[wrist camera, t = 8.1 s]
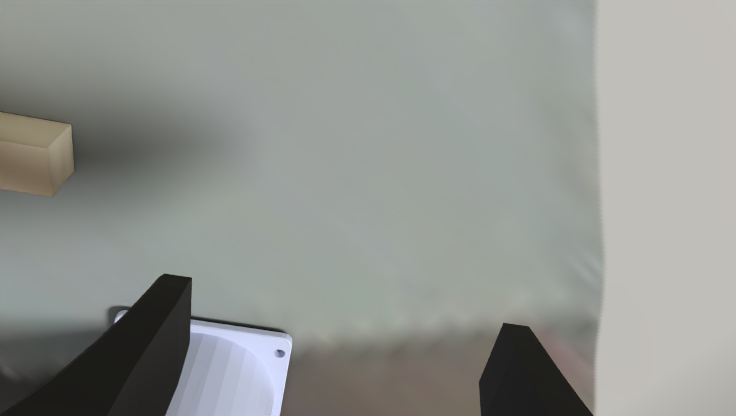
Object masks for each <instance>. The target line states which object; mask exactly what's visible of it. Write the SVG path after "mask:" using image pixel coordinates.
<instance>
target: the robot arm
mask: <svg viewBox="0 0 736 416" xmlns="http://www.w3.org/2000/svg"><path fill="white" fill-rule="evenodd" d="M191 291H192V278H190V277H183V276H177V275H170V274H163V275H162V276H160V277H159V278H158V279H157V280H156V281H155V282H154V283H153V285H152V286H151V287H150V288H149V289H148V290H147V291H146V292H145V293H144V294H143V295H142V297H141V298H140V299H139V300H138V301H137V302H136V303H135V304H134V305H133V306H132V307H131V308H130V309H129V310H122V311H120V312H119V313H118V314H117V315H116V317H115V320H114V325H112V326H111V327H110V328H109V329H108V330H107V331H106V332H105V333H104V334H103V335H102V336H101V337H100V338H99V339H98V340H97V341H95V342H94V343H93V344H92V345H91V346H90V347H88V348H87V349H86V350H85V351H84V352H83V353H81V354H80V355H79V356H78V357H77V358H76V359H74V360H73V361H72V362H71V363H70V364H69V365H67V366H66V367H65V368H64V369H62V370H61V371H60V372H59V373H57V374H56V375H55V376H53V377H52V378H51V379H49V380H48V381H47V382H46V383H44V384H43V385H41V386H40V387H39V388H37V389H36V390H35V391H33V392H32V393H31V394H29V395H28V396H26V397H25V398H23V399H22V400H20V401H19V402H17V403H16V404H14V405H13V406H11V407H10V408H8V409H7V410H5V411H4V412H3V413H1V414H0V416H280V410H281V404H282V399H283V393H284V387H285V382H286V376H287V370H288V365H289V359H290V353H291V348H292V338H291V337H290V336H289V335H288V334H285V333H280V332H274V331H267V330H260V329H253V328H246V327H239V326H232V325H226V324H219V323H212V322H205V321H198V320H191ZM277 350H283V351H277ZM479 389H480V406H481V416H593V414H592V413H591V412H590V411H589V409H588V408H587V407H586V405H585V404H584V403H583V402H582V400H581V399H580V398H579V396H578V395H577V394H576V392H575V391H574V390H573V388H572V387H571V386H570V384H569V383H568V381H567V380H566V379H565V377H564V376H563V375H562V373H561V372H560V370H559V369H558V368H557V366H556V365H555V363H554V362H553V360H552V359H551V358H550V356H549V355H548V353H547V352H546V350H545V349H544V348H543V346H542V345H541V343H540V342H539V340H538V339H537V337H536V336H535V335H534V333H533V332H532V330H531V329H530V328H529V327H528V326H522V325H515V324H508V323H503V325H502V328H501V330H500V333H499V335H498V337H497V340H496V342H495V345H494V347H493V350H492V352H491V354H490V357H489V359H488V362H487V364H486V366H485V369H484V371H483V374H482V376H481V379H480V381H479Z"/></svg>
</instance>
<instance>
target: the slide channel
mask: <svg viewBox="0 0 736 416" xmlns="http://www.w3.org/2000/svg"><path fill="white" fill-rule="evenodd" d="M74 171H75V169H74V155H73V142H72V128H71V124H66V123H61V122H55V121H49V120H43V119H38V118H32V117H26V116H20V115H15V114H9V113H3V112H0V189H4V190H10V191H17V192H23V193H29V194H35V195H41V196H47V197H52V196H53V195H54V194H55V193H56V192H57V190H58V189H59V188H60V187H61V186H62V185H63V183H64V182H65V181H66V180H67V179H68V178H69V176H70V175H71V174H72V173H73V172H74Z"/></svg>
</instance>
